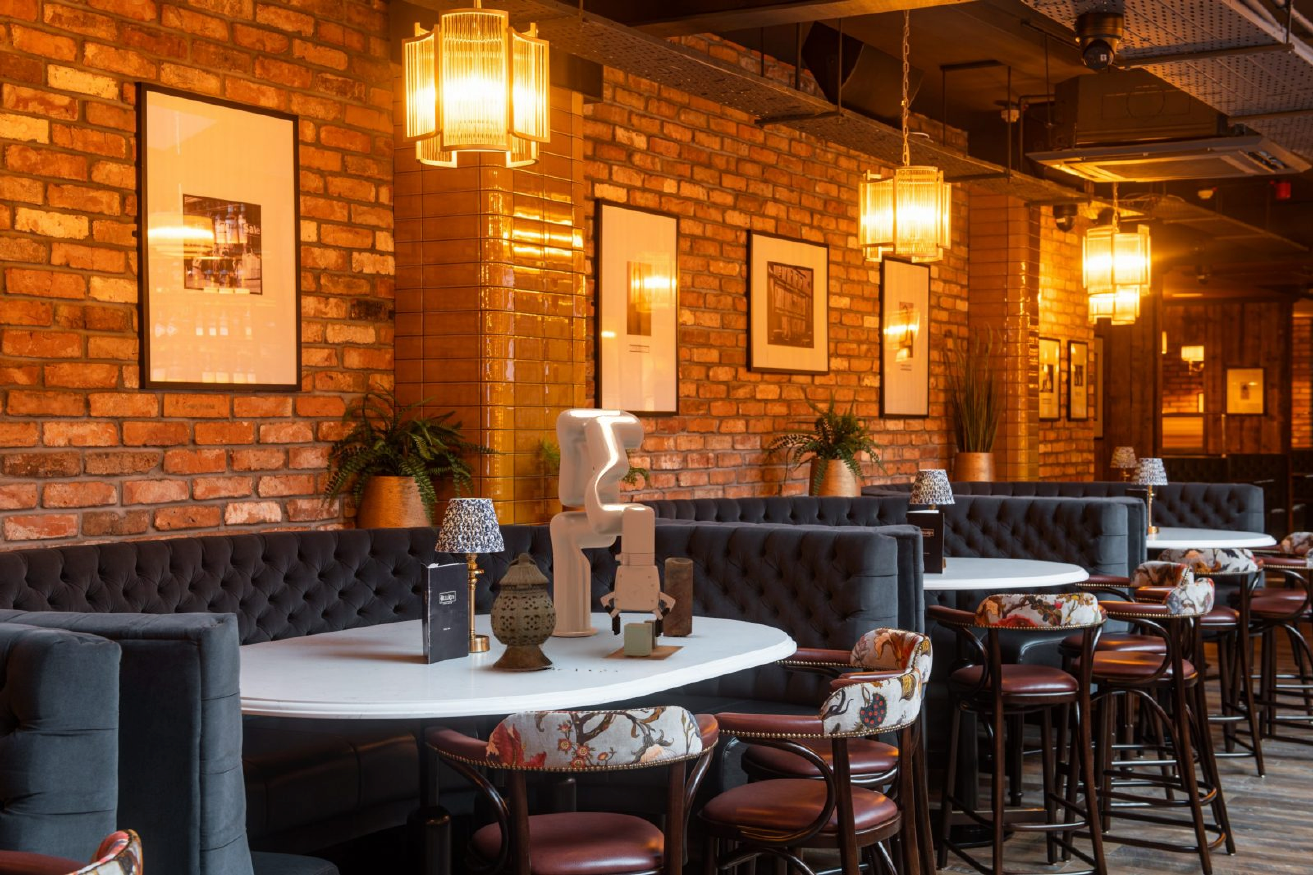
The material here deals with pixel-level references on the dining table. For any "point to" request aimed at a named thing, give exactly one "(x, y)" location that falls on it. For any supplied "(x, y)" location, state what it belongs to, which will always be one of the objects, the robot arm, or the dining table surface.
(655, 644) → the brown post
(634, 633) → the olive block
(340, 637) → the dining table surface
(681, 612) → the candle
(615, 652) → the board
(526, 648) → the lantern
